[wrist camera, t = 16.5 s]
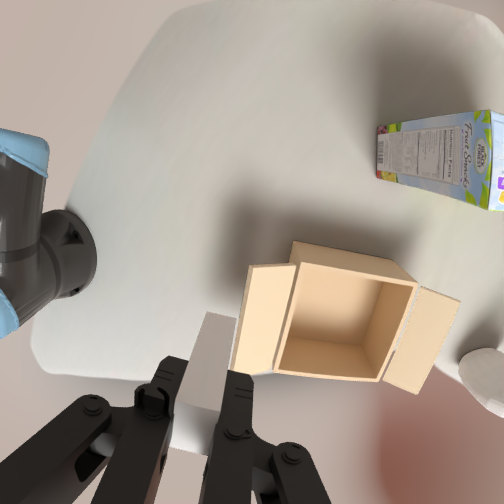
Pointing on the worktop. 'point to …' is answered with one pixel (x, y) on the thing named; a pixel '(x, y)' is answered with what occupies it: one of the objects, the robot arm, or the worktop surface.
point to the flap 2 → (421, 339)
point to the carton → (342, 314)
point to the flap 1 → (261, 316)
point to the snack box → (447, 156)
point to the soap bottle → (485, 377)
